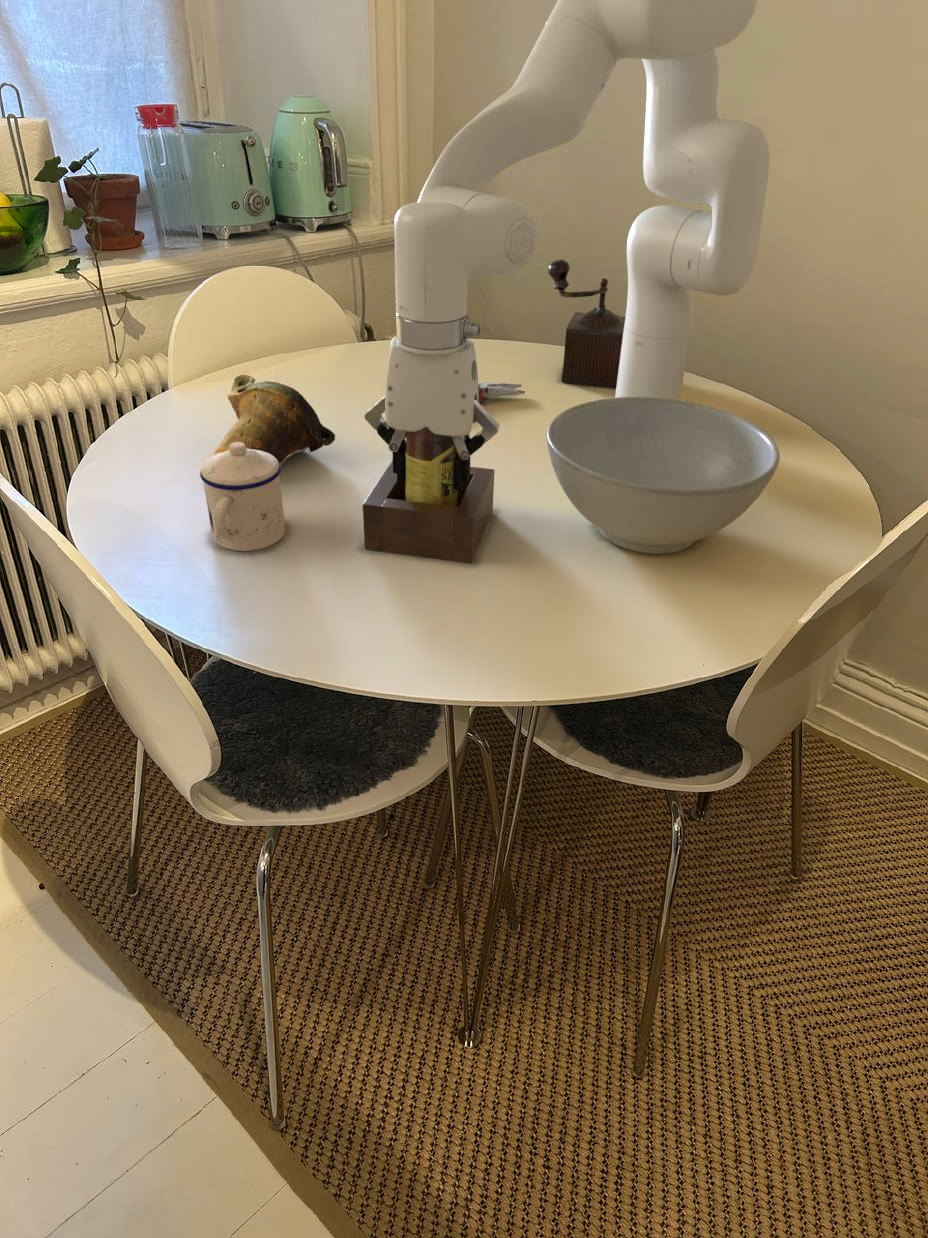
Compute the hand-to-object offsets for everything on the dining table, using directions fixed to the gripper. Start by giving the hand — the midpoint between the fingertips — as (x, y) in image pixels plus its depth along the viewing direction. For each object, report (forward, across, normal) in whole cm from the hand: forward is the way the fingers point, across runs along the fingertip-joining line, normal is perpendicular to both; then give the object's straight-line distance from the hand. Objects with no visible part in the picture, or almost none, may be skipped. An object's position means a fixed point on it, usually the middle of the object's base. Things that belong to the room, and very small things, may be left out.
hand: (431, 480), depth 104 cm
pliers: (+7, +6, -42) cm, 43 cm away
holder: (+7, 0, 0) cm, 7 cm away
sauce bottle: (+7, 0, 0) cm, 7 cm away
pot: (+7, +27, -14) cm, 31 cm away
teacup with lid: (+7, +21, +8) cm, 23 cm away
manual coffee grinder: (+7, -12, -61) cm, 63 cm away
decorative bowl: (+7, -26, -7) cm, 28 cm away
